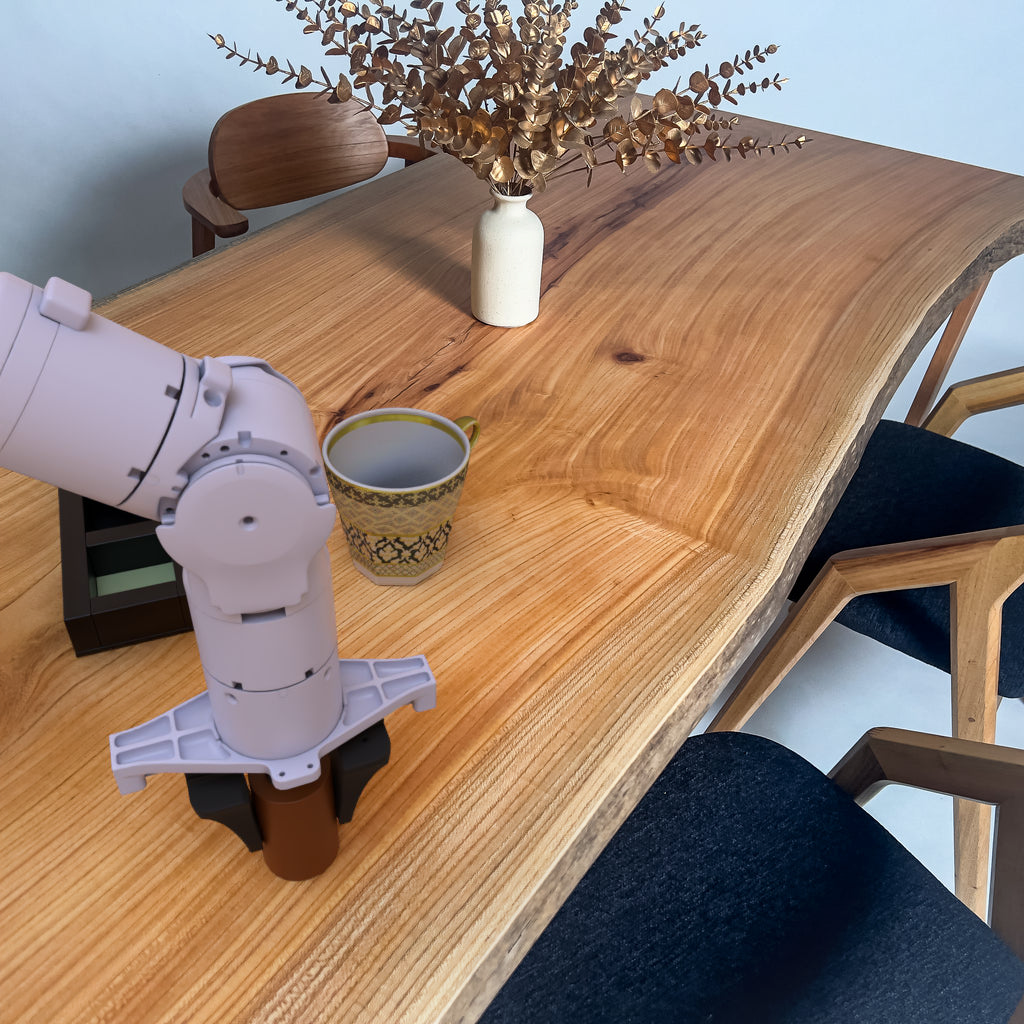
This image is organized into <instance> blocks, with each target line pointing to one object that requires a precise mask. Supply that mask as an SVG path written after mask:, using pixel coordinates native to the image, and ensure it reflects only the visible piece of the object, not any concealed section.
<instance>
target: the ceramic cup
mask: <svg viewBox="0 0 1024 1024" xmlns="http://www.w3.org/2000/svg"><path fill="white" fill-rule="evenodd" d="M470 427H472V433H471V435H470V437H468V435H467V434H466V433H465V432H466V431H467V430H468V429H469V428H470ZM480 436H481V425H480V422H479V420H477V418H475V417H473V416H471V415H463V416H460V417H458V418H456V419H455V420H453V421H452V420H451V419H449V418H447V417H445V416H442V415H440V414H438V413H435V412H432V411H431V412H430V411H428V410H425V409H419V408H414V407H395V406H394V407H382V408H375V409H371V410H370V409H369V410H365V411H362V412H358V413H356V414H353V415H351V416H349V417H347V418H345V419H343V420H341V421H340V422H338V423H337V424H336V425H335V426H333V427H332V428H331V429H330V430H329V431H328V432H327V434H326V435H325V437H324V439H323V441H322V444H321V450H320V452H321V456H322V461H323V465H324V470H325V474H326V479H327V483H328V487H329V491H330V493H331V496H332V499H333V501H334V504H335V505H336V507H337V511H338V515H339V519H340V523H341V526H342V529H343V533H344V536H345V540H346V543H347V546H348V550H349V553H350V556H351V559H352V563H353V565H354V567H355V569H356V570H357V571H358V572H359V573H361V574H362V575H363V576H364V577H366V578H367V579H369V580H370V581H371V582H372V583H374V584H375V585H378V586H407V587H411V586H412V587H413V586H417V585H418V584H419V583H420V582H422V581H424V580H426V579H427V578H429V577H430V576H431V575H433V574H435V573H436V572H438V571H440V570H441V568H442V567H443V565H444V561H445V558H446V553H447V547H448V544H449V541H450V540H449V539H450V536H451V532H452V528H453V525H454V524H453V523H454V518H455V514H456V511H457V508H458V506H459V502H460V500H461V497H462V493H463V490H464V486H465V482H466V478H467V474H468V469H469V464H470V459H471V453H472V451H473V449H474V448H475V446H476V444H477V443H478V441H479V438H480Z"/></svg>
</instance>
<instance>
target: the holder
mask: <svg viewBox="0 0 1024 1024" xmlns="http://www.w3.org/2000/svg"><path fill="white" fill-rule="evenodd" d="M57 492H58V493H57V494H58V517H59V543H60V544H59V545H60V546H59V547H60V565H61V567H60V569H61V591H62V614H63V617H62V618H63V623H64V626H65V629H66V631H67V635H68V637H69V640H70V643H71V646H72V648H73V652H74V654H75V657H76V658H81V657H82V658H83V657H86V656H90V655H94V654H95V655H96V654H98V653H104V652H107V651H112V650H116V649H120V648H125V647H129V646H133V645H138V644H142V643H147V642H152V641H155V640H161V639H164V638H169V637H173V636H177V635H182V634H186V633H190V632H191V633H192V632H195V631H194V626H193V622H192V617H191V613H190V608H189V604H188V600H187V595H186V591H185V588H184V583H183V566H181V565H180V564H179V563H177V562H176V561H175V560H174V559H173V558H172V557H171V556H170V555H169V554H168V553H167V552H166V551H165V549H164V548H163V546H162V544H161V543H160V541H159V539H158V536H157V533H156V528H157V527H158V526H160V525H162V522H161V521H155V520H152V519H149V518H145V517H142V516H139V515H136V514H133V513H130V512H127V511H124V510H122V509H119V508H116V507H114V506H110V505H107V504H105V503H102V502H99V501H96V500H93V499H90V498H87V497H85V496H82V495H79V494H76V493H73V492H70V491H68V490H65V489H62V488H59V487H57Z"/></svg>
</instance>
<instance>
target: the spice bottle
mask: <svg viewBox="0 0 1024 1024" xmlns="http://www.w3.org/2000/svg"><path fill="white" fill-rule="evenodd" d="M320 766H321V775H320V776H319V778H318V779H317V780H315V781H313V782H310V783H307V784H304V785H300V786H297V787H294V788H290V789H287V790H279V789H277V788H275V786H274V785H273V783H272V779H271V776H270V775H269V774H267V773H247V783H248V787H249V790H250V793H251V796H252V801H253V806H254V811H255V816H256V819H257V823H258V826H259V829H260V834H261V838H262V843H263V848H264V849H263V850H262V854H263V859H264V862H265V864H266V867H267V868H268V869H269V871H271V872H272V874H274V875H275V876H277V877H279V878H280V879H283V880H285V881H291V882H302V881H306V880H307V881H308V880H311V879H313V878H316V877H317V876H319V875H321V874H322V873H324V872H325V871H326V870H328V868H329V867H330V866H332V864H333V863H334V861H335V859H336V858H337V855H338V853H339V849H340V844H341V843H340V842H341V841H340V831H339V822H338V818H337V813H336V803H335V793H334V783H333V774H332V765H331V758H330V755H329V753H327V754H326V755H324V756H322V757H321V758H320Z"/></svg>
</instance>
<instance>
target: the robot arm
mask: <svg viewBox="0 0 1024 1024" xmlns="http://www.w3.org/2000/svg"><path fill="white" fill-rule="evenodd" d="M92 302H93V295H92V294H91V292H89V291H87V290H85V289H83V288H81V287H79V286H77V285H76V284H73V283H70V282H68V281H66V280H64V279H63V278H60V277H58V276H52V277H50V278H49V279H48V280H47V283H46V285H45V286H44V288H42V287H41V286H38V285H36V284H34V283H32V282H29V281H28V280H25V279H23V278H20V277H19V276H16V275H14V274H12V273H10V272H7V271H0V468H2V469H5V470H8V471H11V472H14V473H17V474H20V475H22V476H25V477H27V478H30V479H33V480H36V481H40V482H43V483H45V484H48V485H50V486H54V487H56V488H58V487H59V488H62V489H65V490H68V491H70V492H73V493H76V494H79V495H82V496H85V497H87V498H90V499H93V500H96V501H99V502H102V503H105V504H107V505H110V506H114V507H116V508H119V509H122V510H124V511H127V512H130V513H133V514H136V515H139V516H142V517H145V518H149V519H152V520H155V521H161V522H162V525H160V526H158V527H157V528H156V533H157V536H158V539H159V541H160V543H161V544H162V546H163V548H164V549H165V551H166V552H167V553H168V554H169V555H170V556H171V557H172V558H173V559H174V560H175V561H176V562H177V563H179V564H180V565H181V566H183V583H184V588H185V591H186V595H187V600H188V604H189V608H190V613H191V617H192V622H193V626H194V631H193V632H194V635H195V639H196V643H197V648H198V652H199V659H200V663H201V667H202V671H203V675H204V680H205V685H206V690H203V691H202V692H200V693H199V694H197V695H195V696H193V697H191V698H189V699H187V700H185V701H184V702H182V703H180V704H177V705H176V706H174V707H172V708H171V709H168V710H166V711H165V712H163V713H161V714H159V715H157V716H155V717H153V718H152V719H150V720H148V721H146V722H143V723H141V724H139V725H137V726H134V727H131V728H128V729H125V730H122V731H118V732H115V733H112V734H109V736H108V740H109V750H110V752H109V753H110V763H111V772H112V775H113V777H114V779H115V783H116V785H117V788H118V791H119V794H120V796H126V795H131V794H133V793H137V792H140V791H143V790H144V789H146V788H147V785H148V780H147V778H148V777H151V776H156V775H159V774H184V778H185V783H186V787H187V793H188V799H189V803H190V806H191V808H192V809H193V811H194V812H195V814H196V815H197V816H198V817H199V819H201V820H208V821H213V822H216V823H218V824H221V825H223V826H225V828H227V829H229V830H230V831H231V832H233V833H234V834H235V835H236V836H237V837H238V838H239V839H240V840H241V841H242V843H243V844H244V845H245V846H246V848H247V849H248V852H249V853H251V854H253V853H256V852H261V851H263V849H264V848H263V843H262V838H261V834H260V829H259V826H258V823H257V819H256V816H255V811H254V806H253V801H252V796H251V792H250V787H249V783H248V780H247V779H246V776H245V775H246V774H248V773H267V774H269V775H270V776H271V779H272V783H273V785H274V786H275V788H277V789H279V790H287V789H290V788H294V787H297V786H300V785H304V784H307V783H310V782H313V781H315V780H317V779H318V778H319V776H320V775H321V766H320V758H321V757H322V756H324V755H326V754H327V753H329V755H330V758H331V765H332V774H333V783H334V793H335V803H336V813H337V821H338V826H343V825H346V824H349V823H351V822H352V820H353V817H354V814H355V811H356V808H357V805H358V802H359V800H360V798H361V796H362V794H363V792H364V790H365V788H366V786H367V785H368V783H369V782H370V781H371V779H372V778H373V777H374V776H375V775H376V774H377V773H378V772H379V771H380V770H381V769H383V768H384V767H385V766H387V765H388V764H389V763H390V758H391V751H392V746H391V745H392V743H391V737H390V735H389V732H388V730H387V727H386V724H385V718H386V717H387V716H389V715H390V714H392V713H394V712H395V711H397V710H398V709H400V708H402V707H404V706H408V705H411V706H412V709H413V711H414V712H415V713H423V712H426V711H430V710H434V709H436V708H437V680H436V677H435V676H434V673H433V671H432V669H431V666H430V663H429V661H428V659H427V657H426V655H425V654H424V653H420V654H417V655H412V656H406V657H399V658H397V657H396V658H340V656H339V655H340V654H339V641H338V640H339V639H338V627H337V618H336V617H337V616H336V604H335V594H334V593H335V591H334V582H333V571H332V559H331V557H332V556H331V554H330V550H329V546H328V545H327V542H328V540H329V539H330V537H331V535H332V534H333V530H334V528H335V525H336V520H337V511H338V509H337V507H336V504H335V503H332V502H331V494H330V487H329V483H328V480H327V476H326V472H325V468H324V463H323V459H322V452H321V448H320V444H319V439H318V434H317V431H316V425H315V421H314V417H313V414H312V412H311V409H310V407H309V405H308V403H307V400H306V398H305V396H304V394H303V393H302V392H301V390H300V389H299V387H297V385H296V384H295V383H294V382H293V381H292V380H291V379H290V378H288V377H287V376H286V375H285V374H283V373H282V372H279V371H277V370H276V369H275V368H274V367H273V366H272V365H271V364H270V363H269V362H268V361H267V360H265V359H263V358H260V357H255V356H249V355H221V356H217V357H212V356H210V355H204V356H203V358H196V357H192V356H189V355H187V354H185V353H183V352H179V351H177V350H175V349H172V348H171V347H169V346H167V345H164V344H162V343H160V342H158V341H156V340H153V339H151V338H149V337H147V336H145V335H142V334H141V333H138V332H136V331H135V330H132V329H130V328H129V327H126V326H123V325H122V324H119V323H118V322H115V321H112V320H111V319H108V318H106V317H105V316H102V315H100V314H98V313H95V312H93V311H91V310H92Z"/></svg>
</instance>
